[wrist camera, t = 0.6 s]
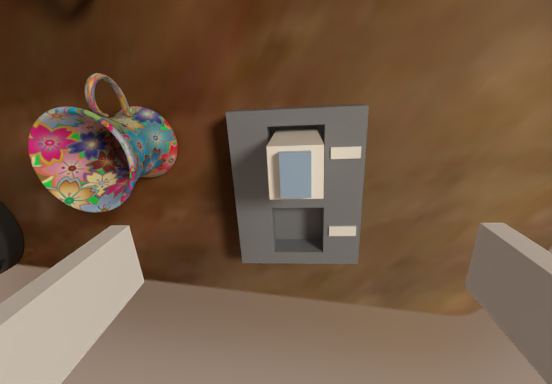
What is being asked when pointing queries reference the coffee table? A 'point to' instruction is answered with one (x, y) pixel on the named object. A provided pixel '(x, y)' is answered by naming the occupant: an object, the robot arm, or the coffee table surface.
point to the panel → (299, 212)
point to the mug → (99, 150)
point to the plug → (296, 164)
